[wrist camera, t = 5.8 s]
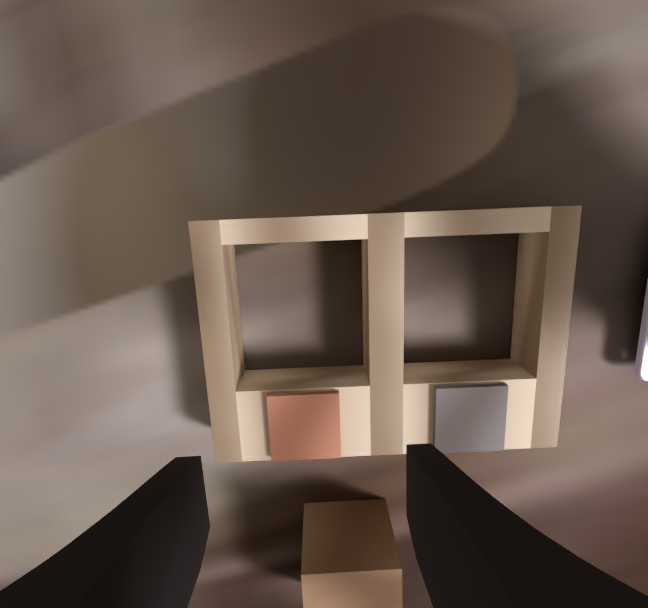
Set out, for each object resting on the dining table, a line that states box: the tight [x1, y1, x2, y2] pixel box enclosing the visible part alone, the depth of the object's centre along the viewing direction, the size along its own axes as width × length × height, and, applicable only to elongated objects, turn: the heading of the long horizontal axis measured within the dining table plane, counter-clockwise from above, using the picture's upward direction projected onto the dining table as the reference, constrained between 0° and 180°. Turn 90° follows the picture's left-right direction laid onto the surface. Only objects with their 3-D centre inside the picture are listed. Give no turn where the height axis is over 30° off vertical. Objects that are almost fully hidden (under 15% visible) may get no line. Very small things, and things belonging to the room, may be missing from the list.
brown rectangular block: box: [301, 499, 402, 608], centre depth 21 cm, size 4×4×6 cm
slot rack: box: [188, 206, 582, 463], centre depth 18 cm, size 16×11×3 cm
